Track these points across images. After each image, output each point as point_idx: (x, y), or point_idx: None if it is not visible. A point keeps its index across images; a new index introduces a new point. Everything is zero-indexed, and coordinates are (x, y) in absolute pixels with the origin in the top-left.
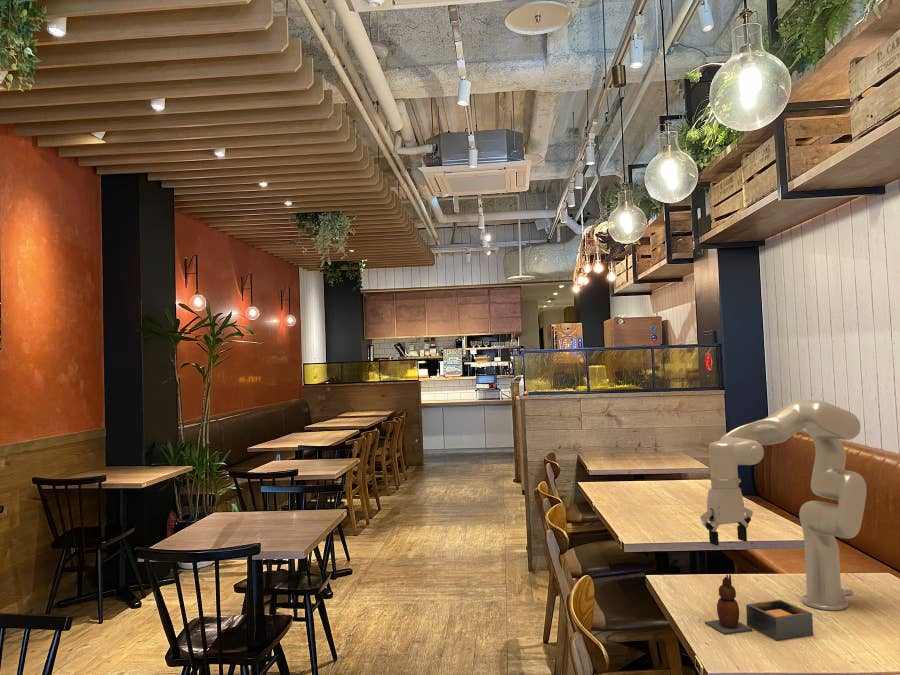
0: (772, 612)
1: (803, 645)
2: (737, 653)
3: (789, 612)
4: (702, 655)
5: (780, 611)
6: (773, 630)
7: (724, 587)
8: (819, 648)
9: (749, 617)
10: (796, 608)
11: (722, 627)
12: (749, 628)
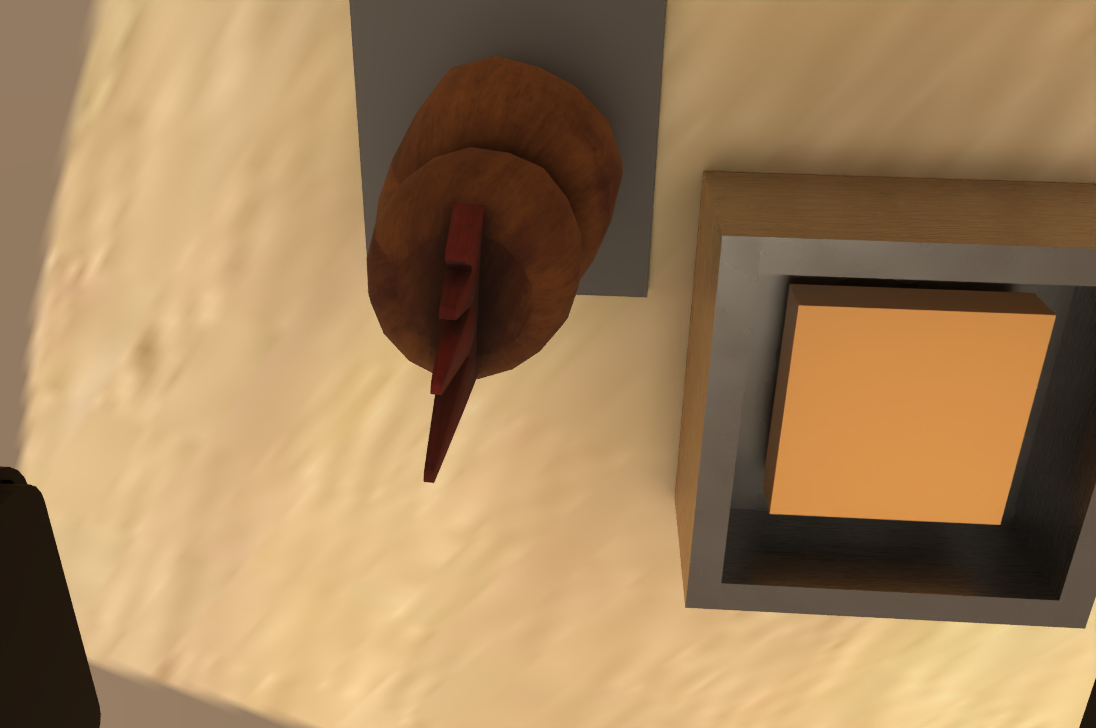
0: (897, 363)
1: None
2: (269, 551)
3: (1084, 373)
4: None
5: (991, 370)
6: (680, 509)
7: (400, 323)
8: (835, 667)
9: (706, 237)
10: (1090, 494)
11: None
12: (633, 282)
